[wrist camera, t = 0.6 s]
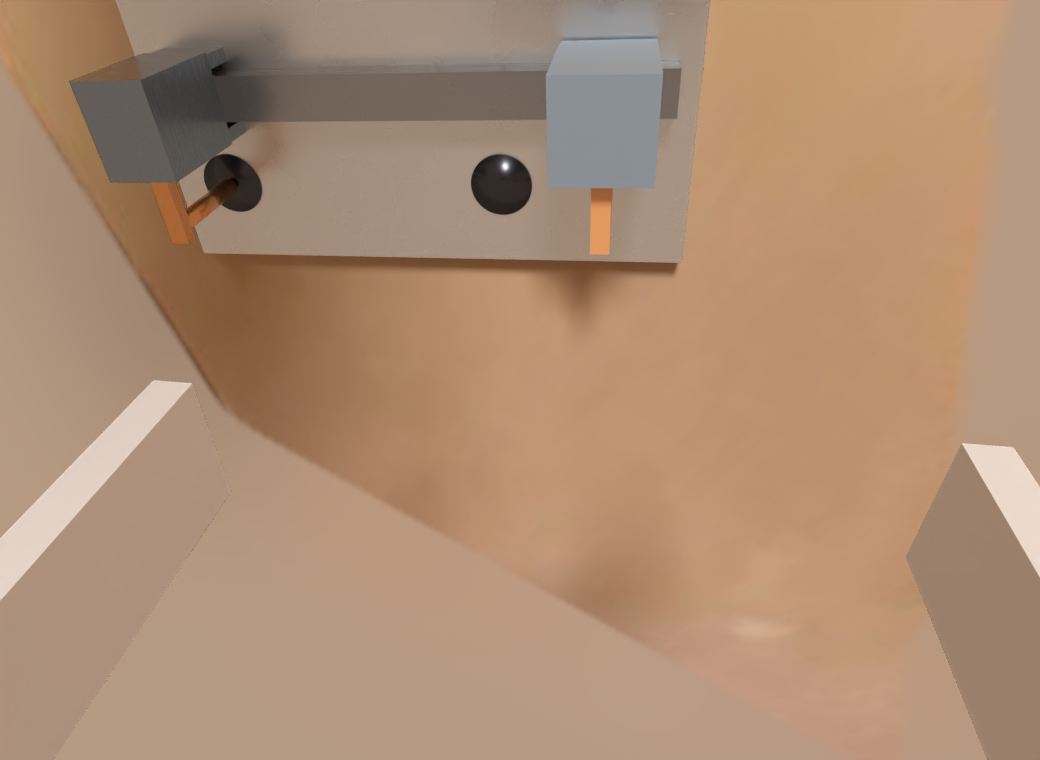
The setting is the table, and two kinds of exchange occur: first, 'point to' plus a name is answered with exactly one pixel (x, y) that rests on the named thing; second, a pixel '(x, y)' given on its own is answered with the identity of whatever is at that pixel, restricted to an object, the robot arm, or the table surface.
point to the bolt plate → (383, 125)
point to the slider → (603, 122)
